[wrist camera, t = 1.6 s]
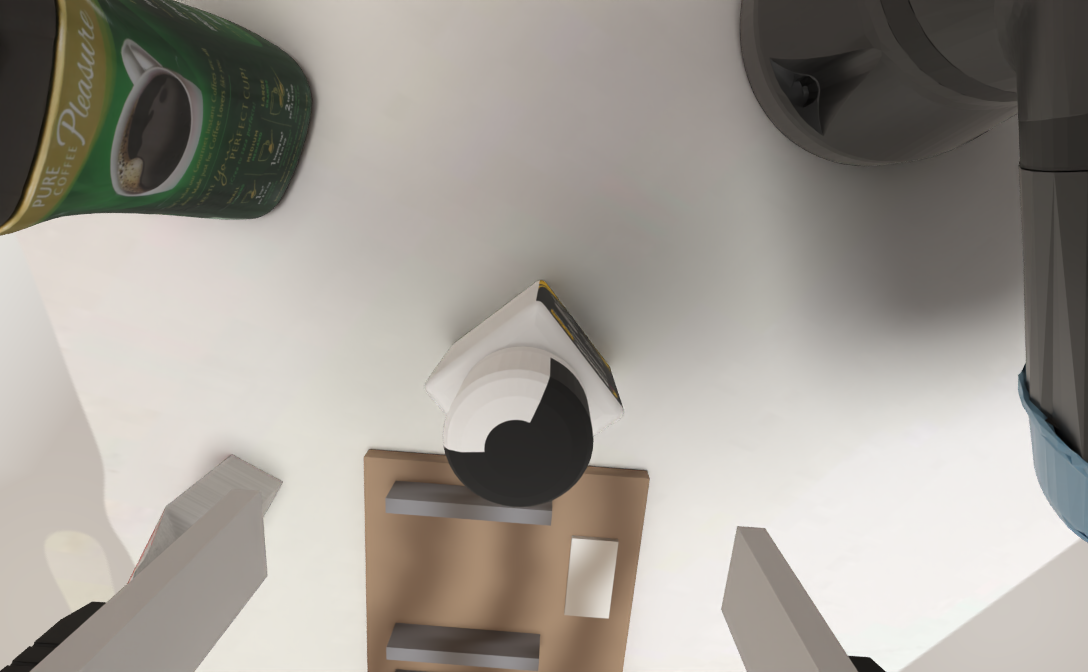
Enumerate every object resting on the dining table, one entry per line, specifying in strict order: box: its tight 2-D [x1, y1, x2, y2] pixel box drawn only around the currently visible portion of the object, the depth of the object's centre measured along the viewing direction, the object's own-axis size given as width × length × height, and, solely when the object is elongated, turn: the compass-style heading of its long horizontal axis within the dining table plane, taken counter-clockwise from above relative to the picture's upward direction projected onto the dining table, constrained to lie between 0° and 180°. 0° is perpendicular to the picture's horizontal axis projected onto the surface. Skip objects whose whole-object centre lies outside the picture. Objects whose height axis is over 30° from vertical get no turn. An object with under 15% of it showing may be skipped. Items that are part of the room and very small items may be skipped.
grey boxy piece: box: [127, 455, 283, 584], centre depth 30 cm, size 4×7×10 cm, turn 148°
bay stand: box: [364, 449, 650, 672], centre depth 36 cm, size 18×30×3 cm, turn 176°
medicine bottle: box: [424, 280, 624, 507], centre depth 26 cm, size 7×7×12 cm
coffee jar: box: [0, 0, 312, 235], centre depth 19 cm, size 10×8×19 cm
